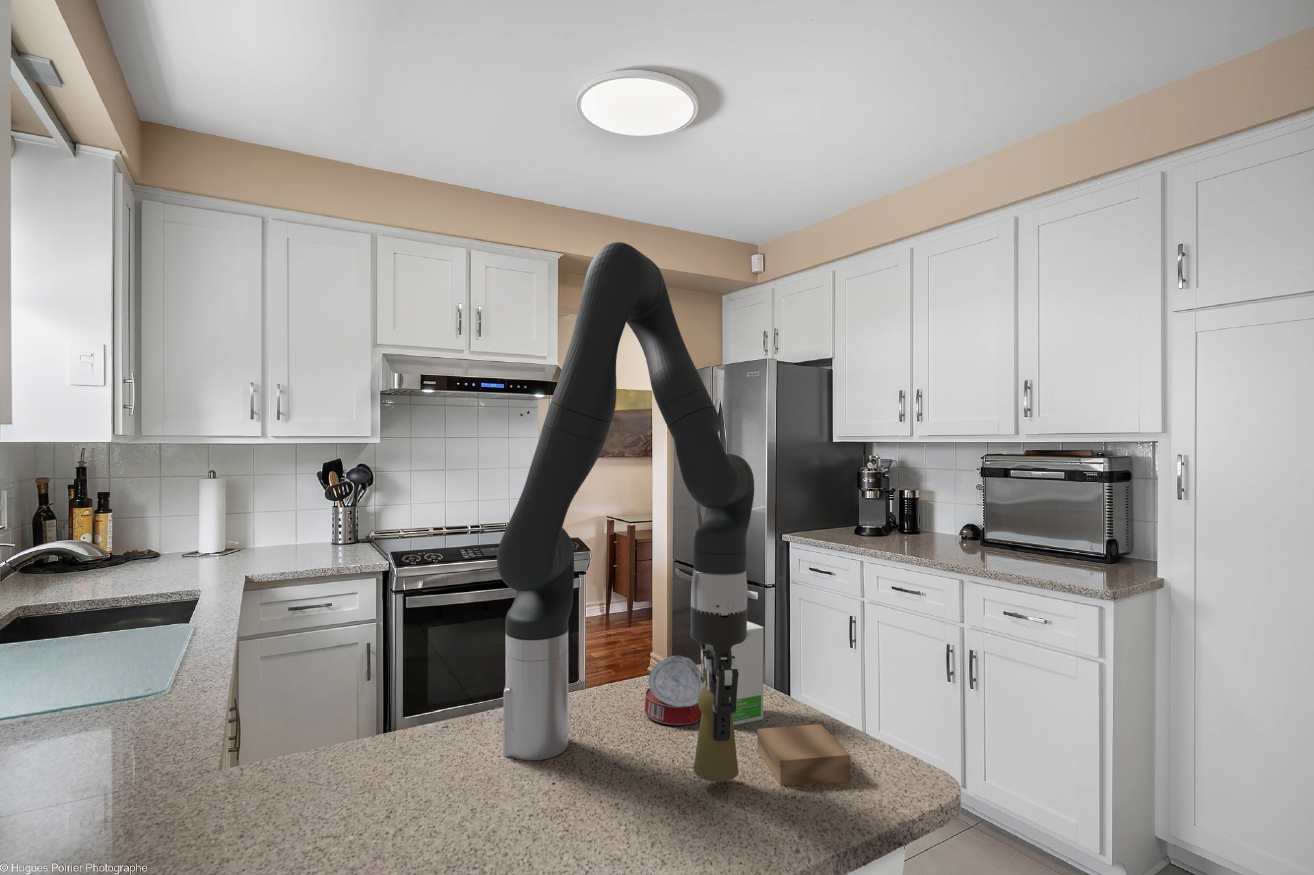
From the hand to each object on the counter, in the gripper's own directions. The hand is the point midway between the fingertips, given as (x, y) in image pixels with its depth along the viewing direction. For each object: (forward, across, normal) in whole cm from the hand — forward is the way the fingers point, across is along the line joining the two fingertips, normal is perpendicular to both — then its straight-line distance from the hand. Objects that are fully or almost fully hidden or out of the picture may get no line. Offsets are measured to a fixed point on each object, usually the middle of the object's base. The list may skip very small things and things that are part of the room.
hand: (716, 729), depth 89 cm
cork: (+6, 0, 0) cm, 6 cm away
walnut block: (+8, -5, +14) cm, 17 cm away
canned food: (+9, -25, -5) cm, 27 cm away
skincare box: (+8, -23, +8) cm, 26 cm away
